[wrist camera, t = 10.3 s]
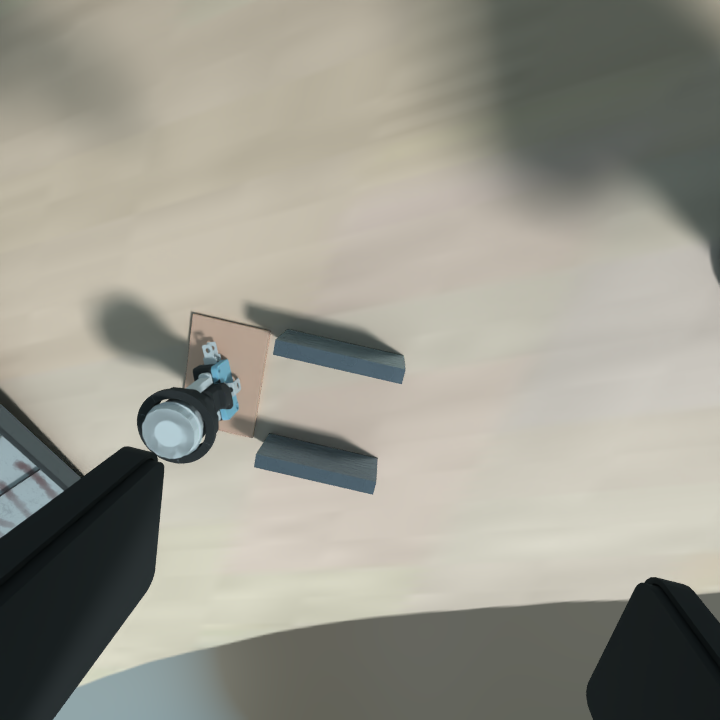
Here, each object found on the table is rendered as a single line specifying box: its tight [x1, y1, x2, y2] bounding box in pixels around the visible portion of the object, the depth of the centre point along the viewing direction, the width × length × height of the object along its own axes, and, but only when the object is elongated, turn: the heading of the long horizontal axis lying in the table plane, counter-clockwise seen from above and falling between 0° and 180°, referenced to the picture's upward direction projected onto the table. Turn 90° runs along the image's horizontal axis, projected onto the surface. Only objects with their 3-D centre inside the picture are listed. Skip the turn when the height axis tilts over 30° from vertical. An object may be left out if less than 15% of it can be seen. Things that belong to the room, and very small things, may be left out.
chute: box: [254, 329, 405, 494], centre depth 36 cm, size 10×11×4 cm
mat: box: [185, 314, 270, 438], centre depth 38 cm, size 7×10×1 cm, turn 168°
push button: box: [137, 342, 241, 463], centre depth 33 cm, size 7×5×10 cm
